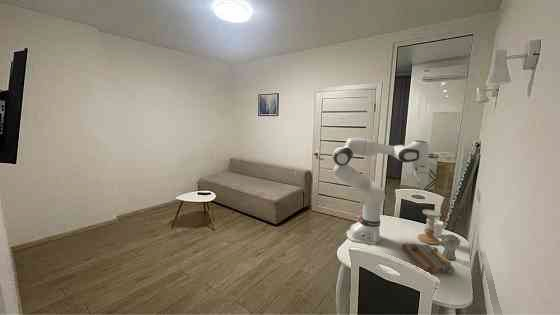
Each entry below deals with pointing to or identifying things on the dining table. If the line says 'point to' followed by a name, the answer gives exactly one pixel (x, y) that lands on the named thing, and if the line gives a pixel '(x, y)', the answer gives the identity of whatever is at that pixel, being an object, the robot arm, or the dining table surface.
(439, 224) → the white cup
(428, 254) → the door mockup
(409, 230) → the dining table surface
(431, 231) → the candle holder
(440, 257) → the lock bar
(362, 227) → the robot arm
